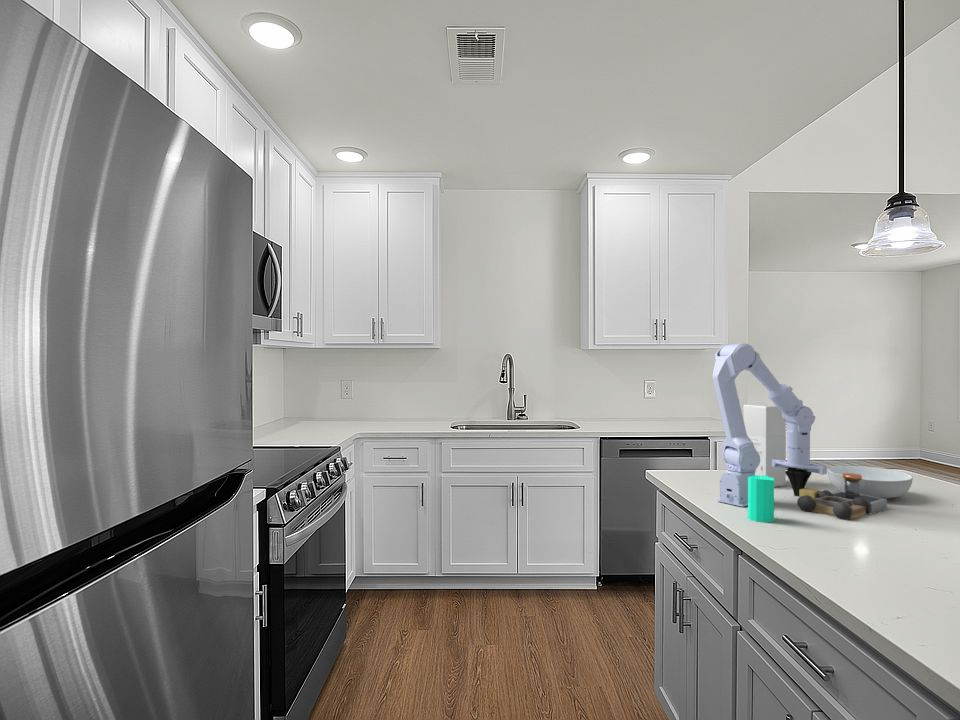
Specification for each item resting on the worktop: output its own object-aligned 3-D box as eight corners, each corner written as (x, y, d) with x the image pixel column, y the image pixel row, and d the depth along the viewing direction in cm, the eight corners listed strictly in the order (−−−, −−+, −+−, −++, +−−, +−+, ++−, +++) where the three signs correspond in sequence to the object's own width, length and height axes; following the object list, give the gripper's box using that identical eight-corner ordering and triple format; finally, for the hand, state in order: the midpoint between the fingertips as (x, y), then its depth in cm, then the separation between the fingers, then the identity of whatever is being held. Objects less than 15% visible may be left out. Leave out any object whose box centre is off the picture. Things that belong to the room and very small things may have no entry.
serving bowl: (828, 499, 171) (829, 475, 171) (825, 485, 190) (826, 463, 190) (918, 508, 162) (918, 482, 162) (906, 492, 180) (906, 469, 180)
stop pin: (857, 507, 160) (857, 477, 160) (839, 503, 164) (839, 474, 164) (864, 504, 163) (864, 475, 163) (847, 501, 167) (847, 472, 166)
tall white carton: (786, 485, 189) (786, 405, 189) (766, 488, 186) (766, 406, 185) (762, 480, 197) (762, 403, 197) (742, 482, 194) (742, 404, 193)
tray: (871, 513, 156) (871, 504, 156) (823, 504, 166) (823, 495, 166) (886, 508, 161) (886, 499, 161) (839, 499, 171) (839, 490, 171)
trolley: (870, 513, 156) (870, 498, 156) (849, 520, 150) (849, 504, 149) (819, 503, 167) (819, 489, 167) (797, 509, 160) (797, 494, 160)
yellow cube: (814, 505, 165) (814, 492, 165) (799, 502, 168) (799, 489, 168) (821, 502, 167) (821, 490, 167) (806, 500, 171) (806, 487, 171)
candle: (759, 523, 148) (759, 474, 148) (742, 516, 154) (742, 469, 153) (779, 521, 149) (779, 472, 149) (762, 515, 155) (762, 468, 155)
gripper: (832, 449, 167) (832, 498, 167) (781, 443, 179) (780, 489, 179) (819, 452, 163) (819, 502, 163) (767, 445, 175) (767, 492, 175)
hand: (798, 495), depth 171 cm, fingers closed
